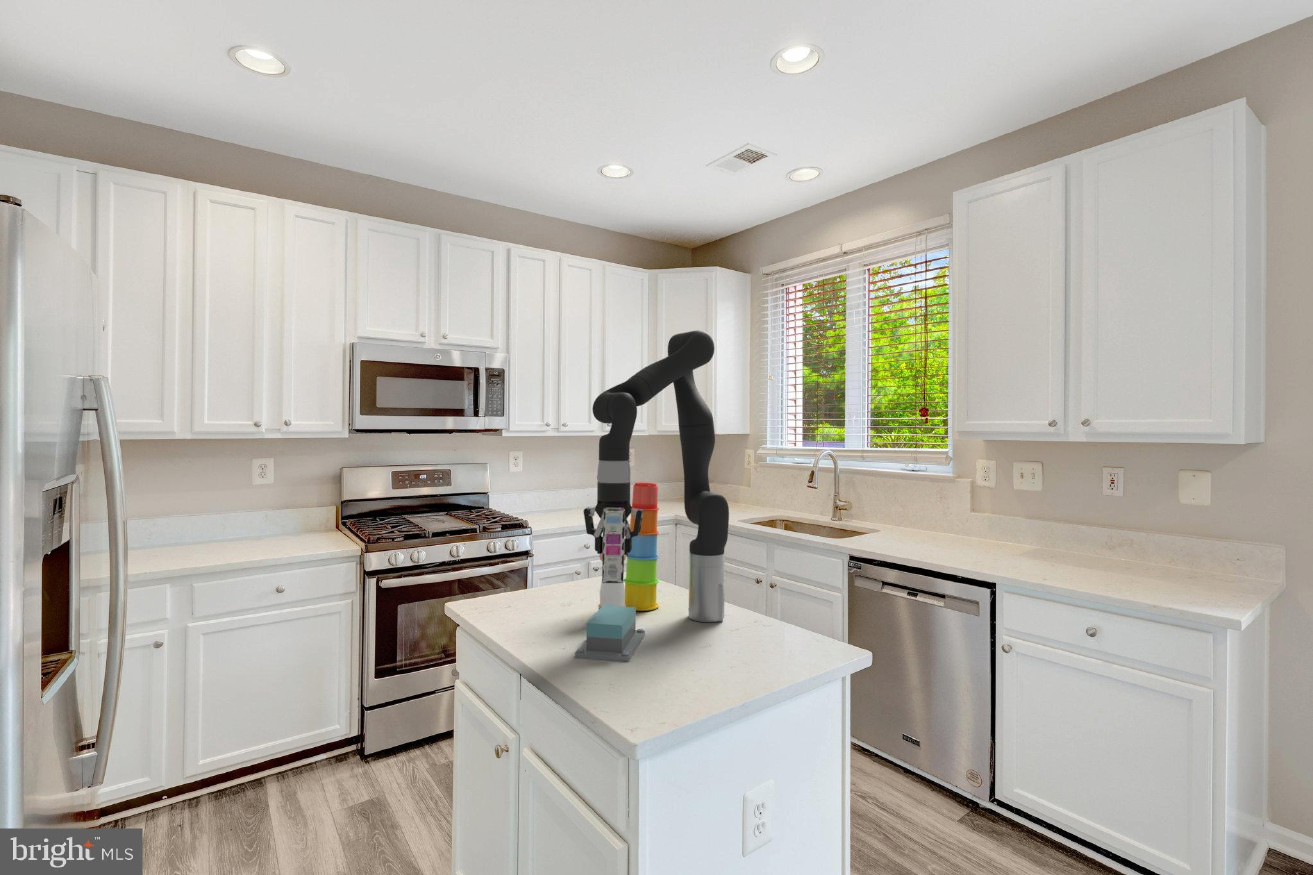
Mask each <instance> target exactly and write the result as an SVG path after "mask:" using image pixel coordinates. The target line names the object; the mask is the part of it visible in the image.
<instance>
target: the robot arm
mask: <svg viewBox="0 0 1313 875" xmlns="http://www.w3.org/2000/svg"><path fill="white" fill-rule="evenodd" d="M714 354H715V343H714V340H713V338H712V336H711V335H710V334H709V333H708V332H706V331H705V330H699V329H698V330H697V329H696V330H692V331H687V332H680V333H676V334H674V335H672V336H670V339H669V341H668V344H667V356H666V357H664V358H662V359H659V360H658V361H655V362H653V363H650V364H649V365H647V366H645V367H643V368H641V369H640V370H639V371H637V372H636V373H635V374H633V375H632V376H631V377H629V378H628V379H626V381H624V382H621V383H619V384H616V385H614V386H612V387H610V388H609V389H607V390H605V391H603V392H601V393H600V394H599V395H598V396H597V397H596V398H595V400H594V402H593V403H592V409H591V410H592V414H593V416H594V419H596V420H597V421H598V422H600V423H601V424H610V429H609V432H608V433H607V434H603V435H602V436H601V437H600V438H599V442H598V465H597V475H596V480H597V490H596V491H597V494H596V497H597V498H596V505H595V506H594V507H586V508H584V509H583V517H584V518H583V519H584V522H585V523H584V524H585V529H586V532H585V533H586V534H587V535H591V536H593V537H594V550H595V552H597V554H598V555H600V554H601V553H602V551H603V509H604V507H622V508H624V509H625V541H624V555H628V554H629V553H630V552H631V550H632V538H633V537H635V536H637V535H639V534H640V531H641V525H642V519H643V514H644V510H643V509H640V510H638V509H633V508H632V507H631V506H632V504H631V464H630V454H631V453H630V449H631V448H630V443H631V439H632V435H633V432H634V428H635V425H636V422H637V417H638V416H637V415H638V407H640V406H643V405H645V404H647V403H648V402H649V401H650V400H651V399H653V398H655V397H656V396H657V395H658V394H659V393H660V392H662V391H663V390H664V389H666V388H667V387H668V386H670V385H671V384H673V388H674V395H675V403H676V410H677V420H678V432H679V441H680V446H681V457H682V467H683V479H684V480H683V489H684V492H683V503H684V512H685V516H686V518H687V519H688V521H689V522H690V523H692V524H694V525H696V526H697V535H696V538H694V539H692V540H691V541H690V542H689V546H688V547H689V549H688V550H689V552H688V553H689V554H688V555H689V556H688V562H689V564H688V566H689V567H688V568H689V569H688V618H689V619H690V620H693V621H695V622H701V623H716V622H723V621H724V619H725V596H726V594H725V592H726V591H725V590H726V589H725V588H726V587H725V586H726V585H725V584H726V582H725V580H726V579H725V547H726V545H727V543H728V538H729V525H730V524H729V521H730V510H729V504H728V503H729V502H728V501H727V499H726V498H725V496H723V495H722V494H721V493H717V492H712V491H711V488H710V480H709V466H710V463H711V459H712V456H713V452H714V449H715V444H716V433H715V424H714V417H713V414H712V412H711V409H710V408H709V406H708V405H707V403H706V400H704V399H703V397H702V396H701V394H700V392H699V389H698V388H697V386H696V381H695V377H694V370H697V369H699V368H701V367H702V366H705V365H707V364H708V363H710V361H711V360H712V359H713V357H714ZM631 513H632V514H633V518H634V519H635V524H634V530H633V531H631V529H630V522H629V520H628V518H629V517H630V516H631ZM595 514H597V516H598V517H599V519H600V520H599V522H598V524H597V526H596V528H595V524H594V518H593V517H594V516H595Z"/></svg>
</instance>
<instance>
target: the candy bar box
mask: <svg viewBox="0 0 1313 875" xmlns="http://www.w3.org/2000/svg"><path fill="white" fill-rule="evenodd" d="M602 537H603V551H602V561H601V565H602V566H601V567H602V569H601V582H602V583H623V580H624V578H625V577H624V572H625V571H624V570H625V560H624V541H625V509H624V508H622V507H604V509H603V533H602Z"/></svg>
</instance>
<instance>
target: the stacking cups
mask: <svg viewBox="0 0 1313 875" xmlns="http://www.w3.org/2000/svg"><path fill="white" fill-rule="evenodd" d="M632 488H633V490H632V501H631V502H632V504H631V507H632V508H633V509H638V510H640V509H643V510H644V514H643V519H642V525H641V531H640V534H639V535H637V536H635V537H633V538H632V550H631V552H630V553H629V554H628V555H626V571H625V572H626V574H625V576H626V577H624V578H623V580H624V587H625V604H626V607H635V608H636V611H637V612H643V611H644V612H646V611H654V610H656V609H658V608H659V603H658V602H657V587H658V586H657V584H659V579H657V570H658V568H657V567H658V559H659V555H658V554H657V552H658V535H659V533H660V531H658V511H659V510H660V508H659V507H658V501H659V498H658V497H659V486H658V484H657V483H652V482H635V483H634V484H633V487H632ZM634 524H635V519H634V518H633V514H632V513H631V514H630V521H629V526H630V529H631V531H633V530H634Z"/></svg>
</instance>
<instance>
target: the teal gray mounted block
mask: <svg viewBox="0 0 1313 875" xmlns="http://www.w3.org/2000/svg"><path fill="white" fill-rule="evenodd" d="M636 616H637V613H636V608H635V607H619V606H602V607H601V608H600V609H599V611H598V610H597V612H595V613H594V614H593V615H592V617H591V618H589V620H588V621H587V622H586V630H585V631H586V638H585V640H584V642H582V644H580V646H579V647H578V648H577V649H576V651H575V652H574V658H580V659H590V660H605V661H616V662H630V661H631V659H632V658H633V656H634V654H635V652H636V650H637V649H638V647H639V646H640V644H641V643H642V641H643V640H644V637H645V636H646V630H645V629H643V628H636V627H637V626H636V624H637V623H636V620H637V618H636Z"/></svg>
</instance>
